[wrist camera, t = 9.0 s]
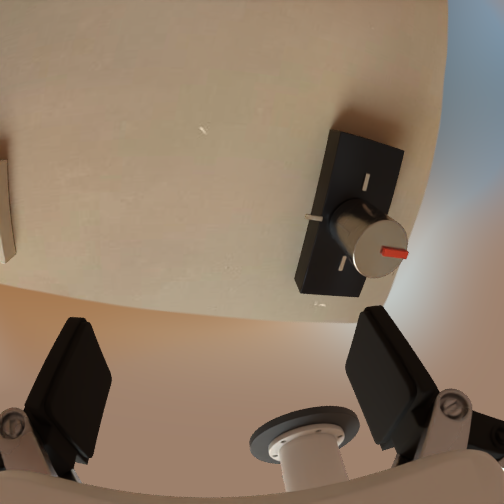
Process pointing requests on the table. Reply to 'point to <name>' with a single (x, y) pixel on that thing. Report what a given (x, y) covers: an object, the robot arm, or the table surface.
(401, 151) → the panel
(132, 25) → the table surface
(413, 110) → the table surface
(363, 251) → the knob
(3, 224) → the switch box
